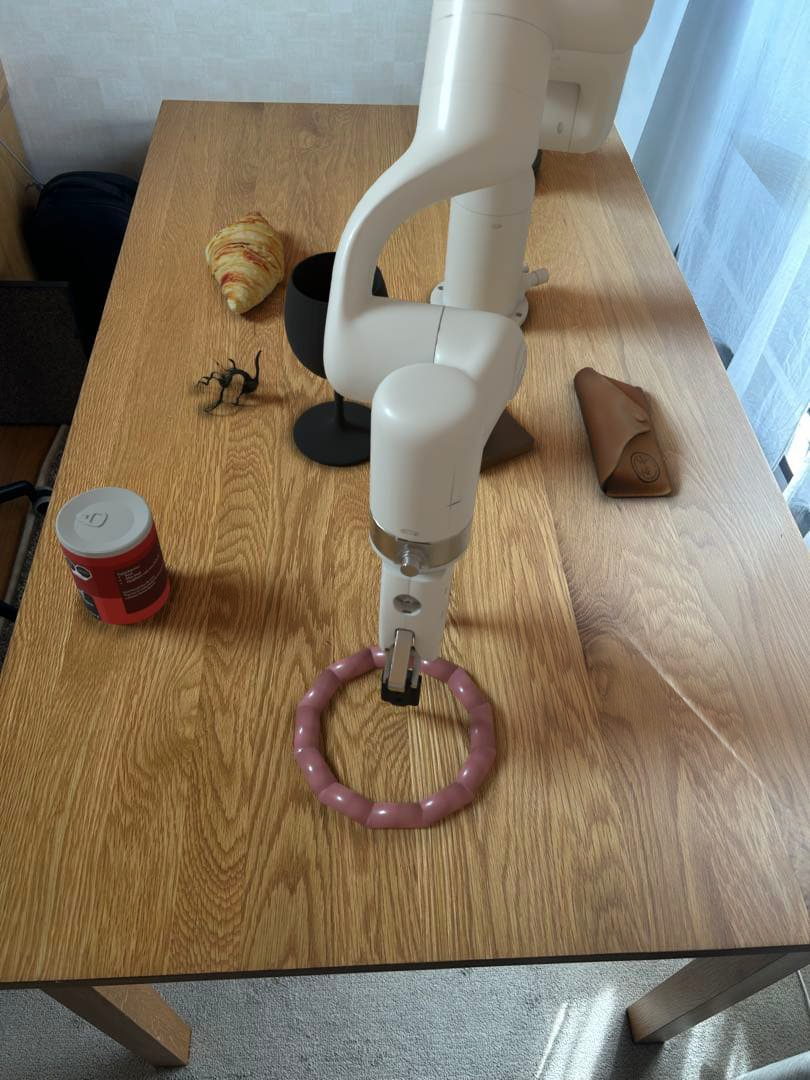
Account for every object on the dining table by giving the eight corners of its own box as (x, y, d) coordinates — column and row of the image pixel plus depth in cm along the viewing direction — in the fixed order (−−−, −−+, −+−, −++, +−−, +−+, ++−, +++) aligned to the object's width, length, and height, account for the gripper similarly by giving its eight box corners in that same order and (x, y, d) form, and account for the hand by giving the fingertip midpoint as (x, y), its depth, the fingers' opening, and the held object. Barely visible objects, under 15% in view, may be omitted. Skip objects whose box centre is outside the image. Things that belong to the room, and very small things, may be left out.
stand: (486, 402, 104) (496, 334, 97) (533, 449, 99) (547, 381, 92) (421, 427, 101) (426, 359, 94) (466, 477, 96) (475, 410, 89)
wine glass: (399, 416, 102) (406, 260, 87) (367, 477, 95) (369, 320, 80) (314, 393, 104) (307, 237, 89) (277, 452, 97) (262, 294, 82)
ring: (425, 626, 83) (426, 614, 82) (532, 770, 74) (535, 758, 73) (261, 706, 77) (260, 693, 76) (357, 872, 68) (357, 862, 67)
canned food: (90, 566, 86) (61, 487, 78) (175, 563, 87) (155, 484, 78) (78, 632, 81) (46, 555, 73) (168, 628, 82) (147, 551, 74)
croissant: (264, 344, 115) (291, 298, 109) (189, 312, 111) (212, 263, 105) (275, 250, 128) (299, 205, 123) (208, 218, 124) (230, 170, 119)
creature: (189, 419, 102) (254, 418, 100) (172, 381, 98) (239, 379, 96) (213, 376, 107) (275, 374, 105) (197, 338, 103) (261, 336, 101)
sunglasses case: (679, 493, 95) (661, 454, 90) (615, 517, 97) (594, 480, 93) (641, 383, 107) (623, 344, 102) (585, 407, 109) (565, 369, 104)
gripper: (456, 624, 60) (438, 748, 73) (484, 449, 71) (464, 583, 84) (345, 606, 60) (346, 733, 73) (390, 435, 72) (384, 571, 84)
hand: (409, 653), depth 78 cm, fingers open, 9 cm apart
